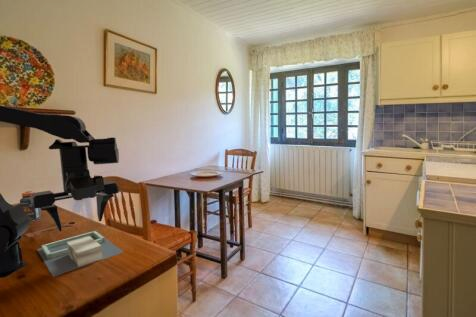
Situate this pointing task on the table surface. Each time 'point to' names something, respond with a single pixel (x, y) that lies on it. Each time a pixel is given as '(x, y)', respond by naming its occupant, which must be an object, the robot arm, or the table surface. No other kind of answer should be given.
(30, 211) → the pill bottle
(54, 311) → the table surface
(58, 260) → the mat
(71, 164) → the robot arm
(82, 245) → the card box
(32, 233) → the key
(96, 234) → the tray frame
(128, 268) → the table surface
